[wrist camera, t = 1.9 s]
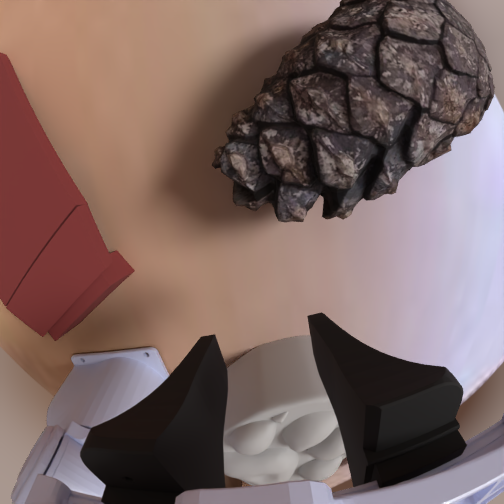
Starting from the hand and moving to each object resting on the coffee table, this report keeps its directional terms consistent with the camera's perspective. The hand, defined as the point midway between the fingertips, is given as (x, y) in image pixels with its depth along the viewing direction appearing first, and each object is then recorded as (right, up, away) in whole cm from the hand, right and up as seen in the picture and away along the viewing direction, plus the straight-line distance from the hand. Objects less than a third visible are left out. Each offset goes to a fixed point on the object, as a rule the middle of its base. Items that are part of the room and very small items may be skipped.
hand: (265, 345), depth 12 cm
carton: (-20, +10, +7) cm, 24 cm away
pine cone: (+6, +13, +6) cm, 15 cm away
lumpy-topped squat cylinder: (+2, -8, +13) cm, 15 cm away
